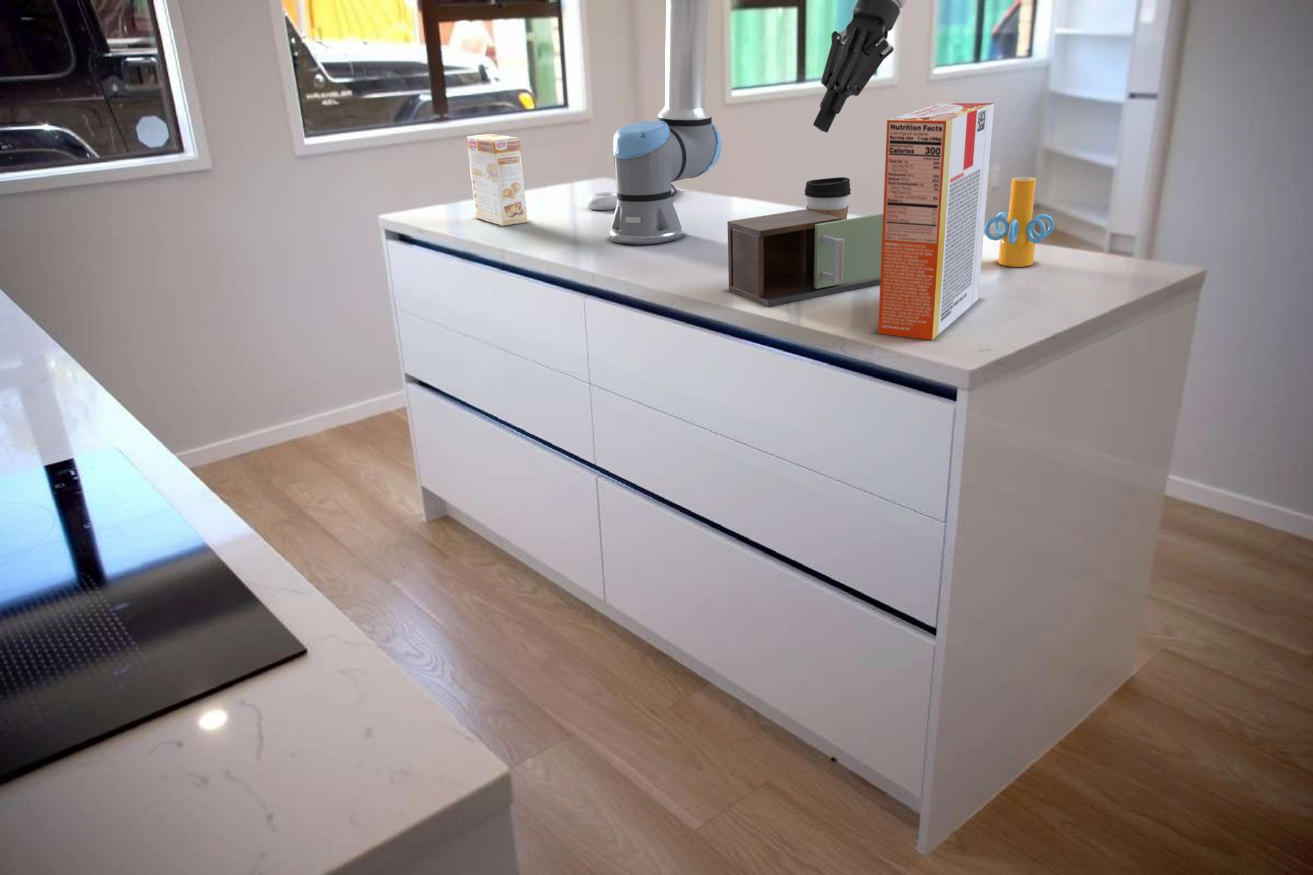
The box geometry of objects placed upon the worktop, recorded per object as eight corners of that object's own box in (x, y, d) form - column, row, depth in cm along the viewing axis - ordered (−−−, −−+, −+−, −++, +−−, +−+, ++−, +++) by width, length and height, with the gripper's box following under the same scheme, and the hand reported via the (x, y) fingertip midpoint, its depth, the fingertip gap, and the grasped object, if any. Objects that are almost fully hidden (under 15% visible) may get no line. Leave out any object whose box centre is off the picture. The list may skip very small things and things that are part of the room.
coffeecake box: (528, 222, 237) (520, 137, 229) (501, 226, 233) (492, 140, 225) (501, 214, 248) (492, 132, 240) (474, 218, 245) (465, 136, 237)
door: (813, 288, 166) (814, 224, 162) (887, 273, 172) (890, 212, 168) (834, 295, 161) (835, 229, 157) (909, 280, 168) (912, 217, 164)
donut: (585, 213, 245) (626, 210, 245) (584, 198, 244) (625, 196, 243) (588, 205, 254) (627, 203, 254) (587, 191, 253) (626, 189, 252)
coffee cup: (848, 265, 184) (850, 182, 178) (802, 265, 186) (803, 183, 180) (849, 254, 192) (851, 175, 186) (805, 255, 193) (806, 176, 187)
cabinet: (728, 291, 171) (727, 221, 167) (854, 267, 183) (856, 201, 178) (767, 306, 161) (767, 233, 157) (898, 280, 173) (902, 211, 168)
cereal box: (928, 294, 164) (940, 103, 152) (978, 299, 160) (994, 103, 148) (878, 333, 146) (887, 120, 134) (932, 340, 142) (946, 121, 130)
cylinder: (1037, 274, 172) (1047, 186, 166) (977, 268, 178) (984, 183, 172) (1053, 258, 182) (1063, 174, 176) (995, 253, 187) (1002, 172, 181)
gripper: (842, -15, 174) (782, 112, 178) (900, -7, 165) (835, 127, 169) (865, 7, 179) (806, 130, 183) (921, 16, 170) (858, 145, 174)
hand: (820, 128), depth 176 cm, fingers closed
